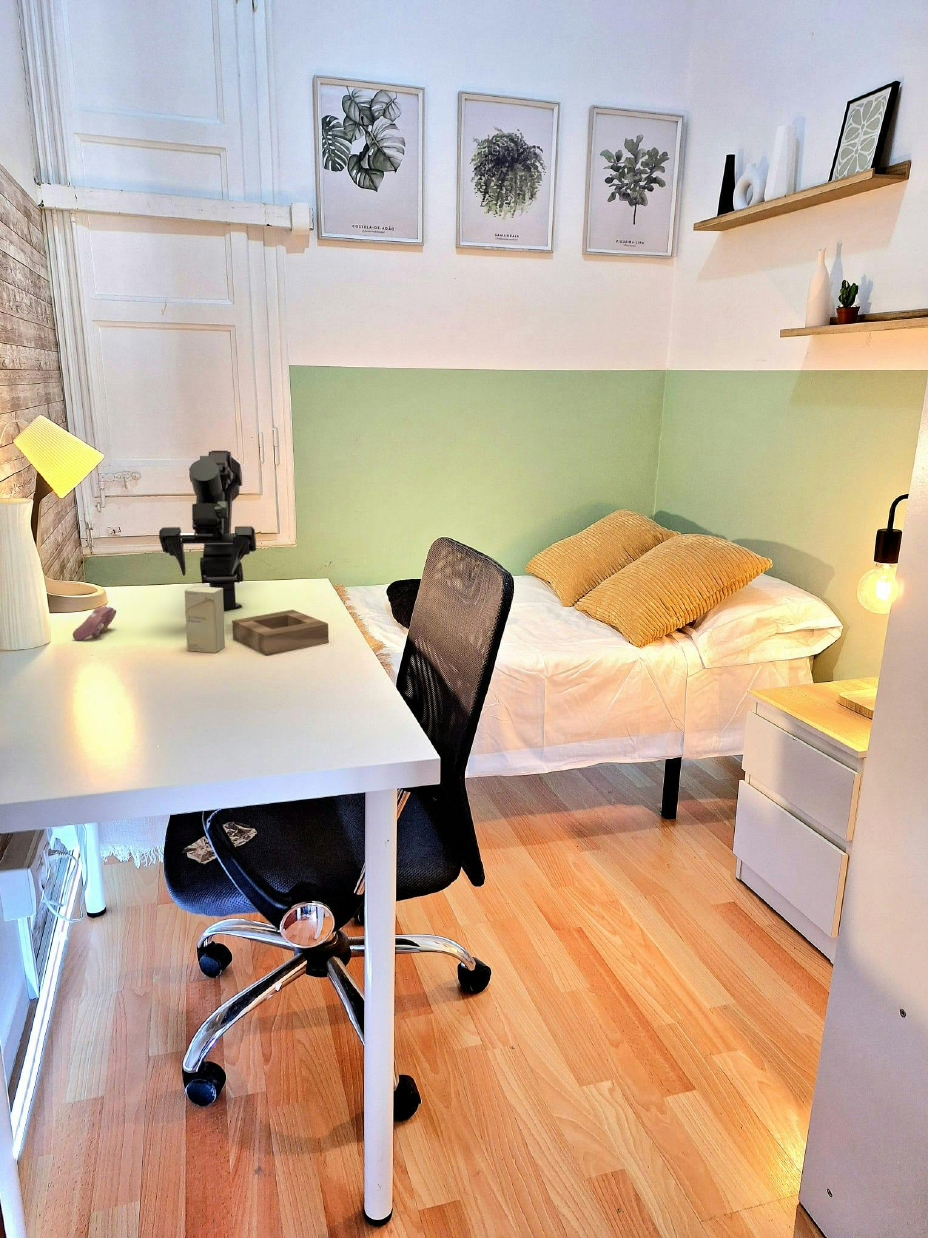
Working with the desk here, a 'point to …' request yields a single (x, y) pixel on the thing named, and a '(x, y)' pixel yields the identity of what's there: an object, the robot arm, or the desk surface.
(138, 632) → the desk surface
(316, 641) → the frame
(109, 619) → the pink toy car
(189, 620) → the skincare box
